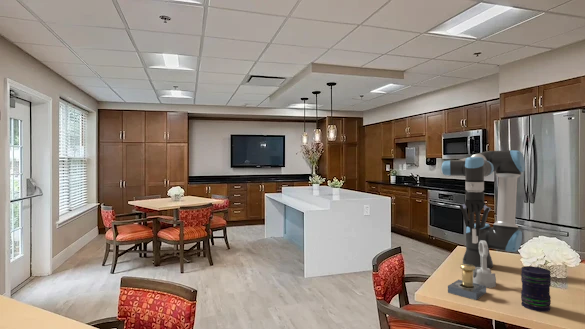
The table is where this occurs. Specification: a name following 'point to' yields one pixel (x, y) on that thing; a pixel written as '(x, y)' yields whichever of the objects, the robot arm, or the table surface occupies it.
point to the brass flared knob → (467, 275)
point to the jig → (467, 290)
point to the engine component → (484, 268)
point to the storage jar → (535, 288)
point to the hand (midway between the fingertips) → (475, 242)
